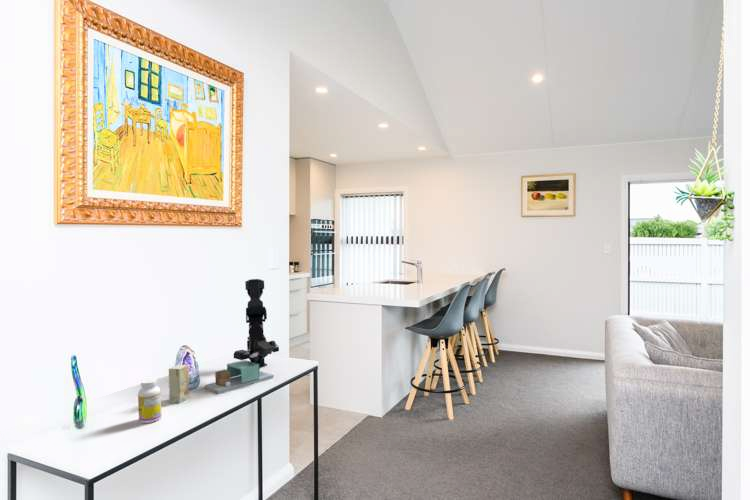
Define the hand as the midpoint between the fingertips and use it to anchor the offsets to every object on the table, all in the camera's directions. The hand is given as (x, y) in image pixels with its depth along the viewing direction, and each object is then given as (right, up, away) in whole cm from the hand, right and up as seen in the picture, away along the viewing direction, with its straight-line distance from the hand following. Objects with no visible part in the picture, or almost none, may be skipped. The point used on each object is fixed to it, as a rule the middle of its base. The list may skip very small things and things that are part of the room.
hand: (257, 371), depth 196 cm
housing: (-4, -1, -5) cm, 7 cm away
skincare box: (-22, -4, -25) cm, 33 cm away
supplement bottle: (-24, -5, -43) cm, 50 cm away
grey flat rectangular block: (-5, -3, -6) cm, 9 cm away
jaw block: (-11, -2, -12) cm, 16 cm away
